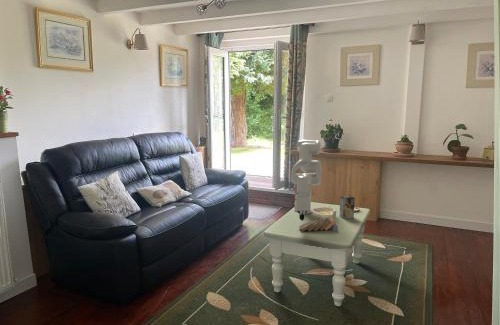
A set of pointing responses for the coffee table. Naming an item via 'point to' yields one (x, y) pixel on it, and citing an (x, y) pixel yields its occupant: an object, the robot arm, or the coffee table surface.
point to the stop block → (334, 227)
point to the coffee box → (347, 207)
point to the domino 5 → (330, 223)
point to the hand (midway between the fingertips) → (301, 219)
